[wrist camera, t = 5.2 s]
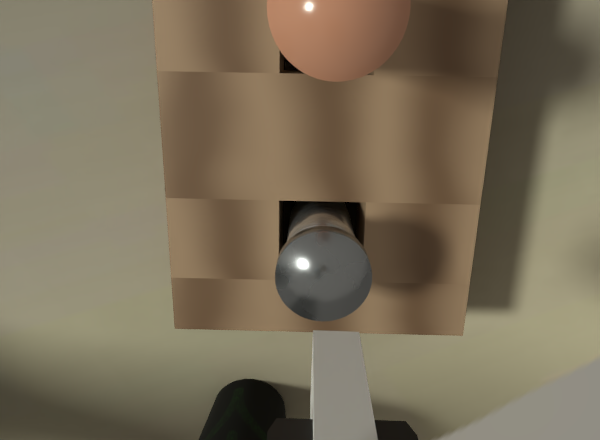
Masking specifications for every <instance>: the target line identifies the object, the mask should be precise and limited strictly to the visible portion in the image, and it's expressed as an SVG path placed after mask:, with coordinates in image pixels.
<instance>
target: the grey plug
mask: <svg viewBox="0 0 600 440" xmlns="http://www.w3.org/2000/svg"><path fill="white" fill-rule="evenodd" d="M275 284H276V289H277V291H278V294H279V296H280V298H281V300H282V301H283V302H284V304H285V305H286V306H287V307H288V308H289V309H290V310H292V311H293V312H294V313H296V314H297V315H299V316H301V317H303V318H306V319H309V320H314V321H333V320H337V319H341V318H343V317H346V316H348V315H349V314H351V313H353V312H354V311H355V310H357V309H358V308H359V307H360V306H361V305H362V303H363V302H364V301H365V299H366V298H367V296H368V294H369V291H370V288H371V284H372V269H371V265H370V262H369V258H368V255H367V253H366V250H365V248H364V247H363V245H362V244H361V243H360V242H359V240H358V239H356V238H355V234H354V230H353V226H352V222H351V218H350V214H349V211H348V209H347V207H346V205H345V204H344V202H326V201H297V202H296V204H295V205H294V207H293V209H292V211H291V214H290V221H289V229H288V238H287V242H286V243H285V245H284V246H283V247H282V249H281V251H280V253H279V256H278V259H277V264H276V270H275Z"/></svg>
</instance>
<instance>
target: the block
mask: <svg viewBox="0 0 600 440" xmlns="http://www.w3.org/2000/svg"><path fill="white" fill-rule="evenodd" d="M152 5H153V20H154V34H155V49H156V63H157V78H158V92H159V107H160V121H161V136H162V150H163V165H164V179H165V194H166V208H167V223H168V237H169V252H170V266H171V281H172V295H173V310H174V324H175V329H213V330H254V331H295V332H313V330H321V331H350V332H359V333H377V334H418V335H459V336H463V330H464V323H465V316H466V308H467V301H468V293H469V286H470V279H471V271H472V264H473V256H474V249H475V242H476V234H477V227H478V219H479V212H480V205H481V197H482V190H483V182H484V175H485V168H486V160H487V153H488V145H489V138H490V131H491V123H492V116H493V108H494V101H495V94H496V86H497V79H498V71H499V64H500V57H501V49H502V42H503V34H504V27H505V20H506V12H507V5H508V0H411V8H410V16H409V21H408V25H407V28H406V31H405V33H404V36H403V38H402V40H401V42H400V44H399V46H398V47H397V49H396V50H395V51H394V53H393V54H392V55H391V56H390V58H389V59H388V60H387V61H386V62H385V63H384V64H382V65H381V66H380V67H379V68H377V69H376V70H374V71H373V72H371V73H369V74H367V75H365V76H363V77H360V78H357V79H354V80H349V81H342V82H332V81H324V80H320V79H316V78H314V77H311V76H309V75H307V74H305V73H303V72H301V71H295V70H284V55H283V54H282V53H281V51H280V50H279V48H278V46H277V45H276V43H275V41H274V38H273V36H272V33H271V30H270V27H269V22H268V17H267V0H152ZM283 201H326V202H357V213H356V232H355V238H356V239H358V240H359V242H360V243H361V244H362V245H363V247H364V248H365V250H366V253H367V255H368V258H369V262H370V265H371V269H372V284H371V288H370V291H369V294H368V296H367V298H366V299H365V301H364V302H363V303H362V305H361V306H360V307H359V308H358V309H357V310H355V311H354V312H353V313H351V314H349V315H348V316H346V317H343V318H341V319H337V320H333V321H314V320H309V319H306V318H303V317H301V316H299V315H297V314H296V313H294V312H293V311H292V310H290V309H289V308H288V307H287V306H286V305H285V304H284V302H283V301H282V300H281V298H280V296H279V294H278V291H277V289H276V284H275V270H276V264H277V259H278V256H279V253H280V251H281V249H282V247H283Z"/></svg>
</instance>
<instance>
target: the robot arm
mask: <svg viewBox="0 0 600 440" xmlns="http://www.w3.org/2000/svg"><path fill="white" fill-rule="evenodd" d="M267 440H418V437H417V435H416V433H415V432H414V431H413V430H412V428H411V427H410V426H409V425H408V424H407V422H406V421H382V420H374V415H373V409H372V403H371V398H370V392H369V386H368V380H367V375H366V369H365V363H364V358H363V352H362V346H361V340H360V335H359V332H350V331H321V330H313V345H312V371H311V396H310V419H291V418H276V420H275V421H274V423H273V424H272V425H271V427H270V428H269V430H268V431H267Z"/></svg>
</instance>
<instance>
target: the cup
mask: <svg viewBox="0 0 600 440" xmlns="http://www.w3.org/2000/svg"><path fill="white" fill-rule="evenodd" d="M276 418H286V415H285V405H284V401H283V399H282V397H281V395H280V394H279V393H278V392H277V390H276V389H274V388H273V387H272V386H270V385H269V384H267V383H264V382H262V381H258V380H254V379H243V380H238V381H235V382H232V383H230V384H228V385H227V386H225V387H224V388H223V389H222V390H221V391H220V392H219V394H218V395H217V398H216V400H215V402H214V405H213V407H212V409H211V412H210V414H209V417H208V419H207V421H206V424H205V426H204V429H203V431H202V433H201V436H200V438H199V440H267V431H268V430H269V428H270V427H271V425H272V424H273V423H274V421H275V420H276Z"/></svg>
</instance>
